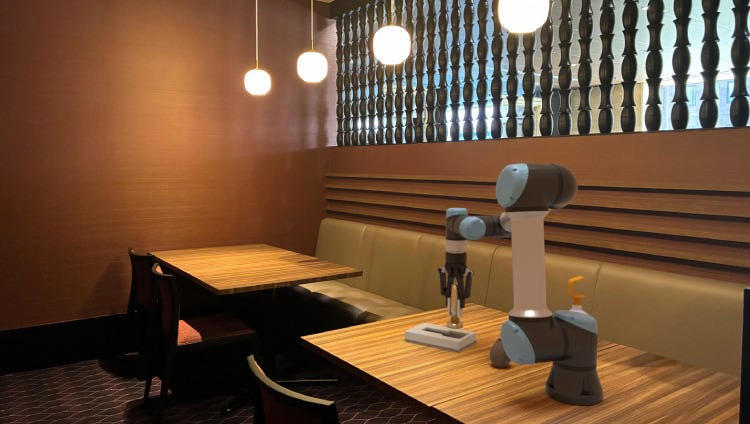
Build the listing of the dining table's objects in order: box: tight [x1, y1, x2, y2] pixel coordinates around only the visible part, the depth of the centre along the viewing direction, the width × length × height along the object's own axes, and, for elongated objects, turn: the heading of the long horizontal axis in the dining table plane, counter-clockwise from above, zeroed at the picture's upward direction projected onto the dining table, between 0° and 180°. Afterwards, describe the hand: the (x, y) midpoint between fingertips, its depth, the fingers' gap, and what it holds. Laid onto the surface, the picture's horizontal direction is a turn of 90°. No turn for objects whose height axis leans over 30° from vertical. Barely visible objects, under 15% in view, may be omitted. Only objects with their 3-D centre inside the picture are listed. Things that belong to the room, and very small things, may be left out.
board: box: [404, 322, 477, 353], centre depth 206 cm, size 14×22×4 cm, turn 54°
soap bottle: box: [567, 275, 589, 315], centre depth 203 cm, size 9×9×25 cm
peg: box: [446, 282, 464, 329], centre depth 202 cm, size 6×6×16 cm
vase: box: [489, 337, 512, 369], centre depth 181 cm, size 7×7×9 cm
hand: (455, 315), depth 202 cm, fingers closed on peg, 3 cm apart
